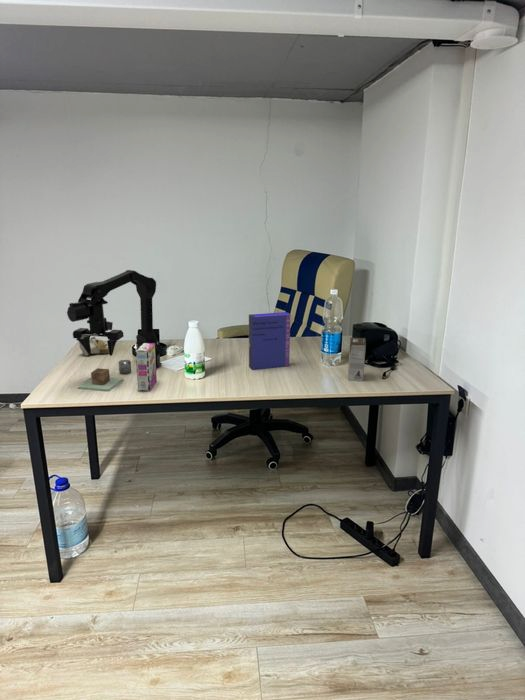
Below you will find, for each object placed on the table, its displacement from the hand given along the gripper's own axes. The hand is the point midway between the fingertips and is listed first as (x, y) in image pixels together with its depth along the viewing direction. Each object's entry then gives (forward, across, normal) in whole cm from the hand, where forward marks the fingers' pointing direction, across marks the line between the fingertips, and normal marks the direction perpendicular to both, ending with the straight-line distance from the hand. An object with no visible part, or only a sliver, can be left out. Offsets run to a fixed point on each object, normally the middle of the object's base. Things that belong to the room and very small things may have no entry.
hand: (100, 354), depth 187 cm
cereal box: (+13, -62, -32) cm, 71 cm away
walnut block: (+11, 0, +2) cm, 11 cm away
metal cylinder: (+12, -3, -13) cm, 18 cm away
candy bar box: (+12, -19, 0) cm, 23 cm away
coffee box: (+13, -100, -26) cm, 105 cm away
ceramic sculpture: (+12, +23, -35) cm, 44 cm away
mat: (+12, 0, +2) cm, 12 cm away
